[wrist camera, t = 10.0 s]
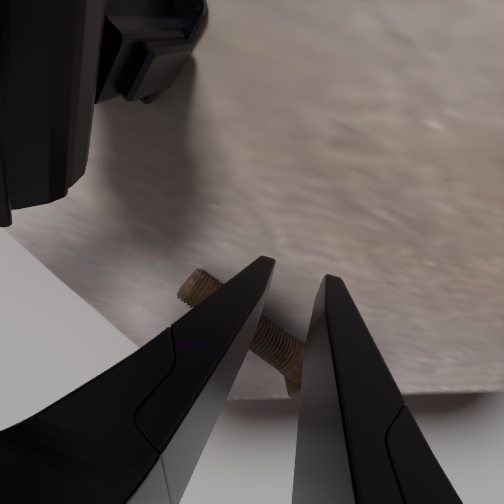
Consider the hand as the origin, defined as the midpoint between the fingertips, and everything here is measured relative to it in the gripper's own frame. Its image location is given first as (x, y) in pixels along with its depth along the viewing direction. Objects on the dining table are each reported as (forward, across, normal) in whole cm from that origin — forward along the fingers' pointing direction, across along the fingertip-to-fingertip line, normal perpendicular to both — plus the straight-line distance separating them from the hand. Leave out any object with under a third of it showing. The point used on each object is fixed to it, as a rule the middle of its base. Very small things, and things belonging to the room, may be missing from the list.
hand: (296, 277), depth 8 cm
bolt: (+12, +2, +17) cm, 21 cm away
